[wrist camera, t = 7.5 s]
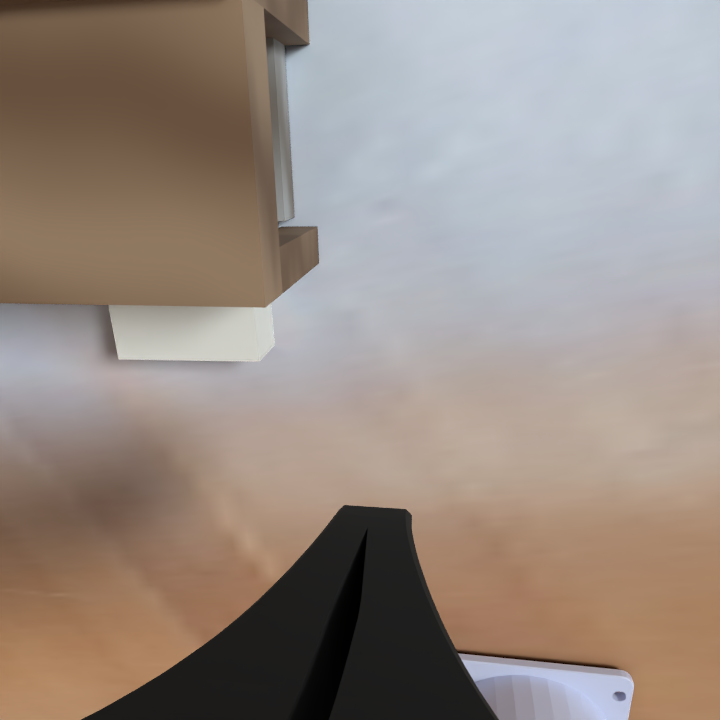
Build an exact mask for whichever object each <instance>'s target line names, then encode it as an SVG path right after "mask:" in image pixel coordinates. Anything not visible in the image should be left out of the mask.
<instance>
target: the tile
mask: <svg viewBox="0 0 720 720" xmlns="http://www.w3.org/2000/svg"><path fill="white" fill-rule="evenodd" d="M108 307H109V312H110V317H111V323H112V328H113V333H114V339H115V344H116V349H117V354H118V359H119V360H183V361H247V362H260V360H261V359H262V358H263V357H264V356H265V355H266V354H267V353H268V352H269V351H270V350H271V349H272V347H273V346H274V345H275V340H274V329H273V318H272V307H271V303H270V304H269V305H268V306H267V307H266V308H261V307H202V306H143V305H108Z"/></svg>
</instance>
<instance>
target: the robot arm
mask: <svg viewBox="0 0 720 720" xmlns="http://www.w3.org/2000/svg"><path fill="white" fill-rule="evenodd" d="M633 690H634V683H633V680H632V677H631V676H630V674H629V673H627V672H626V671H623V670H617V669H608V668H598V667H588V666H578V665H568V664H558V663H548V662H538V661H529V660H519V659H509V658H499V657H489V656H479V655H469V654H459V653H458V652H457V651H456V649H455V647H454V645H453V643H452V641H451V639H450V637H449V635H448V633H447V631H446V629H445V627H444V625H443V622H442V620H441V618H440V616H439V613H438V611H437V609H436V607H435V604H434V602H433V600H432V597H431V594H430V592H429V589H428V587H427V584H426V581H425V578H424V575H423V572H422V569H421V566H420V563H419V560H418V556H417V553H416V549H415V544H414V540H413V535H412V515H411V514H410V513H409V512H408V511H407V510H406V509H394V508H379V507H364V506H349V505H344V506H343V507H342V508H341V509H340V510H339V511H338V512H337V513H336V515H335V516H334V517H333V519H332V520H331V521H330V523H329V524H328V525H327V526H326V528H325V529H324V530H323V531H322V533H321V534H320V535H319V536H318V537H317V539H316V540H315V541H314V542H313V543H312V545H311V546H310V547H309V548H308V549H307V550H306V551H305V552H304V553H303V555H302V556H301V557H300V558H299V559H298V560H297V561H296V562H295V563H294V565H293V566H292V567H291V568H290V569H289V570H288V571H287V572H286V573H285V574H284V575H283V576H282V577H281V578H280V579H279V580H278V581H277V582H276V583H275V584H274V585H273V586H272V587H271V588H270V589H269V590H268V591H267V592H266V593H265V594H264V595H263V596H262V597H261V598H260V599H259V600H258V601H257V602H255V603H254V604H253V605H252V606H251V607H250V608H249V609H248V610H247V611H245V612H244V613H243V614H242V615H241V616H240V617H239V618H237V619H236V620H235V621H234V622H233V623H231V624H230V625H229V626H228V627H226V628H225V629H224V630H223V631H222V632H220V633H219V634H218V635H216V636H215V637H214V638H213V639H211V640H210V641H208V642H207V643H206V644H204V645H203V646H202V647H200V648H199V649H197V650H196V651H195V652H193V653H192V654H190V655H189V656H187V657H186V658H185V659H183V660H182V661H180V662H179V663H177V664H176V665H174V666H173V667H172V668H170V669H169V670H167V671H166V672H164V673H162V674H161V675H159V676H158V677H156V678H154V679H153V680H151V681H149V682H148V683H146V684H145V685H143V686H141V687H140V688H138V689H136V690H135V691H133V692H131V693H129V694H128V695H126V696H124V697H122V698H121V699H119V700H117V701H115V702H114V703H112V704H110V705H108V706H106V707H105V708H103V709H101V710H99V711H97V712H95V713H93V714H92V715H89V716H87V717H85V718H83V719H81V720H628V717H629V711H630V706H631V700H632V695H633ZM618 691H621V692H618ZM615 692H618V693H615Z"/></svg>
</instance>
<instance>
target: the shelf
mask: <svg viewBox="0 0 720 720" xmlns="http://www.w3.org/2000/svg"><path fill="white" fill-rule="evenodd" d="M306 44H309V27H308V4H307V0H0V303H26V304H84V305H143V306H202V307H261V308H266V307H267V306H268V305H269V304H270V303H272V302H273V301H274V300H275V299H276V298H278V297H279V296H280V295H281V294H282V293H284V292H285V291H286V290H287V289H288V288H290V287H291V286H292V285H293V284H294V283H296V282H297V281H298V280H299V279H300V278H302V277H303V276H304V275H305V274H306V273H308V272H309V271H310V270H311V269H312V268H314V267H315V266H316V265H317V264H319V253H318V230H317V227H280V228H278V221H287V220H289V219H292V218H294V199H293V182H292V164H291V146H290V129H289V111H288V94H287V76H286V59H285V46H286V45H306Z"/></svg>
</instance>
